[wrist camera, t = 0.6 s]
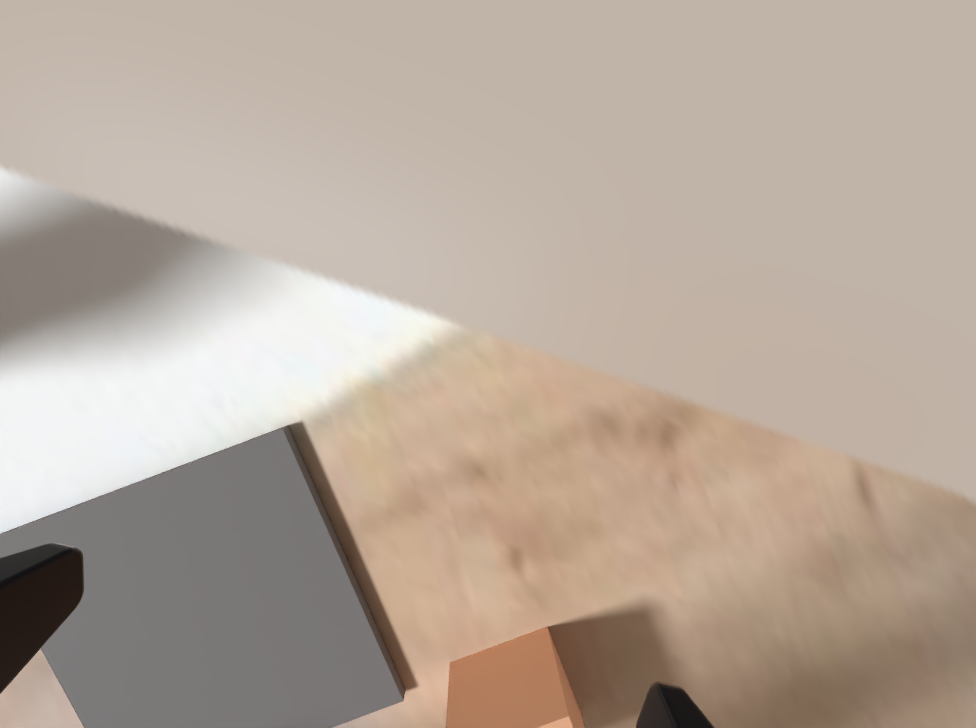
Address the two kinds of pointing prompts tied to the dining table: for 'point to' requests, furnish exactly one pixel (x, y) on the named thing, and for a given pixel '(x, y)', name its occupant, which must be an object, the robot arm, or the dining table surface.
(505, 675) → the peach block
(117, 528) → the charcoal mat
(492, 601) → the dining table surface
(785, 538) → the dining table surface
